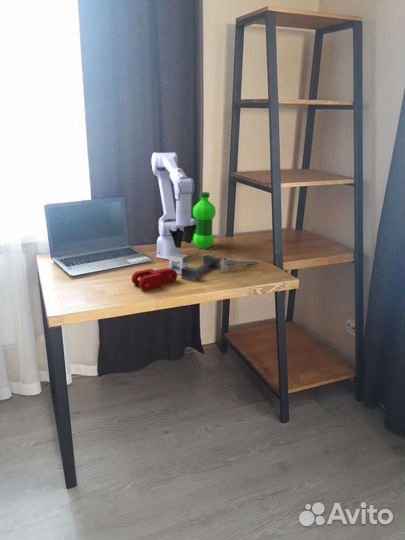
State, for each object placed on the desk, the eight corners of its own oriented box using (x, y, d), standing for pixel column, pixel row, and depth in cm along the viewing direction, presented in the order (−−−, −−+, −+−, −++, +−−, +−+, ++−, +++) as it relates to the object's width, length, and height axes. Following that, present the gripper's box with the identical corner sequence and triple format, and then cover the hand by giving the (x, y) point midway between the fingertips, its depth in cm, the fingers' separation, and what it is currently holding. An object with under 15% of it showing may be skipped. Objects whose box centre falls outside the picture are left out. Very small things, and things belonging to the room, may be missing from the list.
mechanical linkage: (141, 292, 155) (141, 278, 153) (131, 285, 160) (131, 272, 158) (180, 283, 163) (180, 270, 162) (170, 277, 169) (170, 265, 167)
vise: (181, 278, 168) (181, 268, 166) (206, 264, 184) (207, 254, 183) (195, 281, 165) (195, 271, 164) (219, 266, 182) (220, 257, 180)
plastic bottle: (196, 243, 214) (197, 190, 205) (217, 245, 210) (219, 192, 202) (188, 248, 205) (189, 193, 196) (210, 251, 201) (212, 195, 193)
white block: (169, 268, 177) (169, 255, 175) (174, 265, 180) (174, 252, 178) (182, 271, 174) (182, 257, 172) (187, 268, 177) (187, 255, 175)
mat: (162, 271, 175) (162, 270, 175) (175, 264, 183) (175, 263, 183) (179, 275, 171) (179, 274, 171) (192, 267, 180) (192, 266, 179)
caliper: (222, 273, 175) (223, 257, 173) (220, 272, 176) (221, 257, 174) (257, 263, 188) (258, 248, 186) (255, 262, 189) (256, 248, 187)
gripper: (182, 215, 164) (181, 251, 168) (202, 209, 176) (201, 242, 180) (166, 213, 167) (166, 248, 172) (186, 206, 179) (186, 239, 184)
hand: (183, 245), depth 176 cm, fingers open, 7 cm apart
